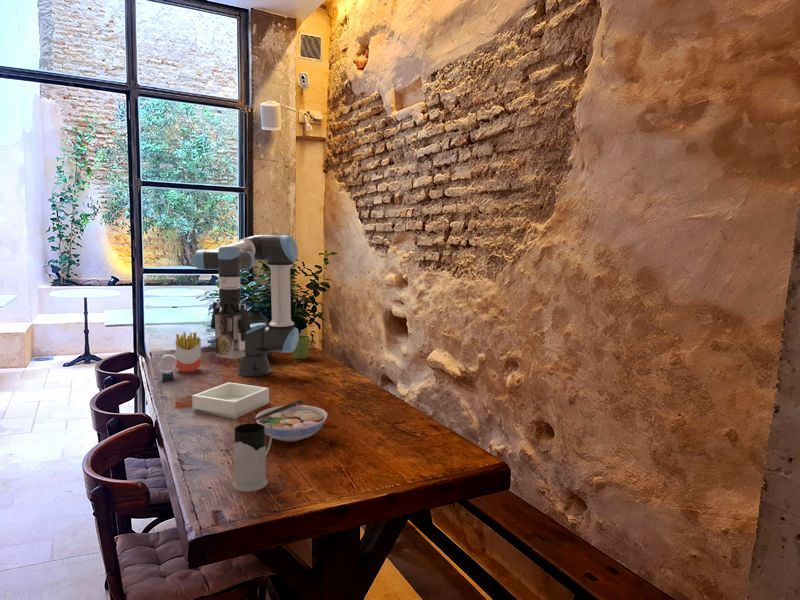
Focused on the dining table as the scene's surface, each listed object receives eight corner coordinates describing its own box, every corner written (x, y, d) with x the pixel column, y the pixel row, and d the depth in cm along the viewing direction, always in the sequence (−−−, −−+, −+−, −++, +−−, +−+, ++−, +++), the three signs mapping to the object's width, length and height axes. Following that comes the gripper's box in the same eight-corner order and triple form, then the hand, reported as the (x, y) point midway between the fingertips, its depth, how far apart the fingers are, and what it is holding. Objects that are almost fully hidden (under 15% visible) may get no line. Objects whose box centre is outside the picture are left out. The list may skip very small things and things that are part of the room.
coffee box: (246, 356, 200) (245, 313, 198) (234, 359, 194) (233, 315, 192) (227, 353, 203) (226, 311, 202) (215, 356, 198) (214, 313, 196)
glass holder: (225, 487, 137) (224, 431, 135) (258, 466, 150) (258, 414, 148) (254, 494, 134) (253, 436, 132) (285, 471, 147) (285, 418, 145)
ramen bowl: (290, 459, 155) (290, 432, 154) (236, 442, 167) (236, 417, 166) (344, 433, 176) (344, 409, 175) (292, 420, 188) (292, 397, 187)
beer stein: (268, 362, 274) (267, 313, 271) (230, 361, 274) (229, 313, 271) (275, 355, 291) (275, 309, 288) (240, 354, 291) (239, 308, 288)
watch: (157, 378, 239) (156, 354, 238) (177, 376, 242) (176, 353, 241) (157, 381, 234) (156, 356, 233) (177, 379, 237) (176, 355, 236)
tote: (192, 411, 195) (192, 395, 194) (229, 396, 214) (228, 382, 213) (235, 418, 188) (234, 402, 188) (268, 403, 207) (268, 388, 206)
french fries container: (200, 371, 253) (199, 333, 251) (175, 372, 251) (174, 334, 248) (201, 368, 258) (200, 332, 256) (177, 369, 255) (176, 332, 253)
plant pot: (293, 354, 292) (293, 334, 291) (314, 355, 291) (314, 335, 290) (285, 359, 281) (285, 338, 279) (307, 360, 279) (307, 339, 278)
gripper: (198, 287, 196) (200, 347, 199) (247, 290, 188) (248, 353, 191) (213, 285, 203) (214, 344, 206) (260, 288, 195) (261, 349, 198)
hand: (230, 348), depth 198 cm, fingers closed on coffee box, 9 cm apart
